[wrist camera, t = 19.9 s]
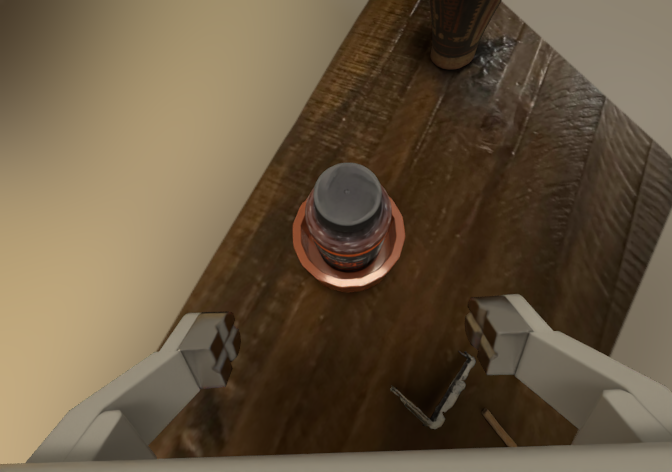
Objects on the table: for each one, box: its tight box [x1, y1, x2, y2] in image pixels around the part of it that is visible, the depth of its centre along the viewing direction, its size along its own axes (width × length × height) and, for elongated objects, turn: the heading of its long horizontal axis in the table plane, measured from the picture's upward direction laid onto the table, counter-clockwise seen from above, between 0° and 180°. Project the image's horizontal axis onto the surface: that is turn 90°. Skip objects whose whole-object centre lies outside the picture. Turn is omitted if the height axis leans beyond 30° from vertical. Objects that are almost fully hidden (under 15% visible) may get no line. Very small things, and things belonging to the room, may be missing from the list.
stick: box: [481, 408, 518, 447], centre depth 21 cm, size 7×1×1 cm, turn 38°
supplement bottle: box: [305, 163, 392, 273], centre depth 21 cm, size 6×6×11 cm
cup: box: [430, 0, 501, 69], centre depth 28 cm, size 9×9×10 cm
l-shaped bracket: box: [390, 351, 476, 429], centre depth 22 cm, size 7×1×5 cm
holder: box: [293, 196, 405, 292], centre depth 25 cm, size 9×9×4 cm
